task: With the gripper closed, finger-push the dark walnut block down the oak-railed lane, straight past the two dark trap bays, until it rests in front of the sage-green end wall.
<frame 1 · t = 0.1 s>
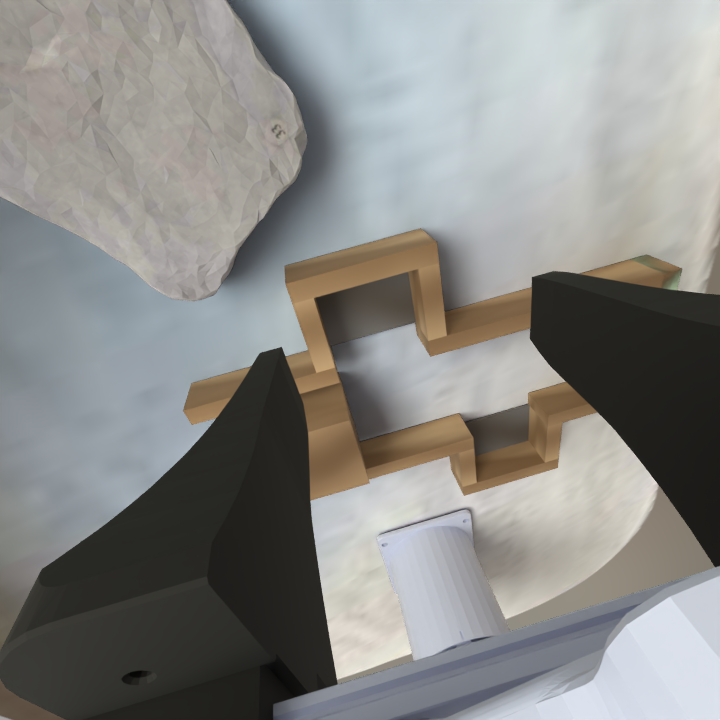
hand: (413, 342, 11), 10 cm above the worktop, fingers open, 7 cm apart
trap lane: (424, 381, 25), on the worktop
stone block: (148, 108, 16), on the worktop
walnut block: (301, 415, 25), resting in trap lane
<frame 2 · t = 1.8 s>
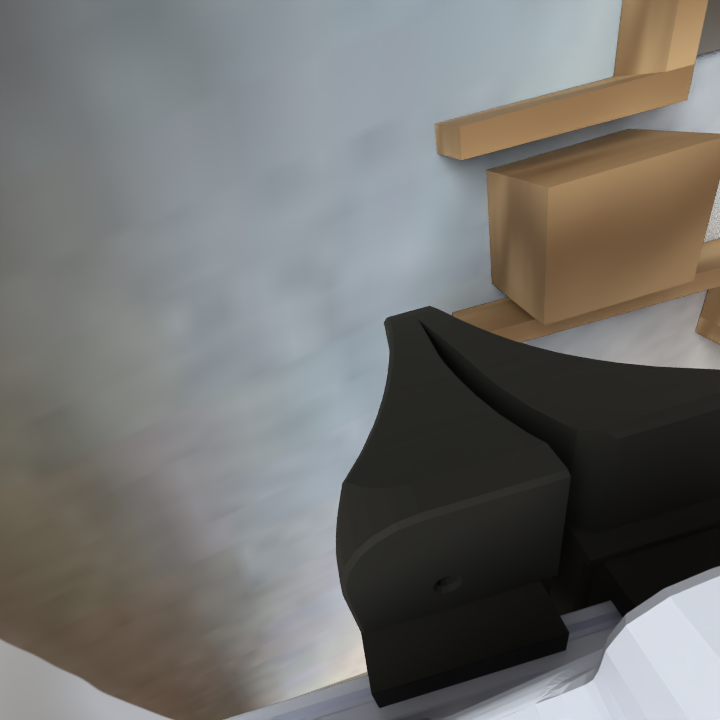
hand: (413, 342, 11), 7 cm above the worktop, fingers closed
walnut block: (553, 211, 17), resting in trap lane
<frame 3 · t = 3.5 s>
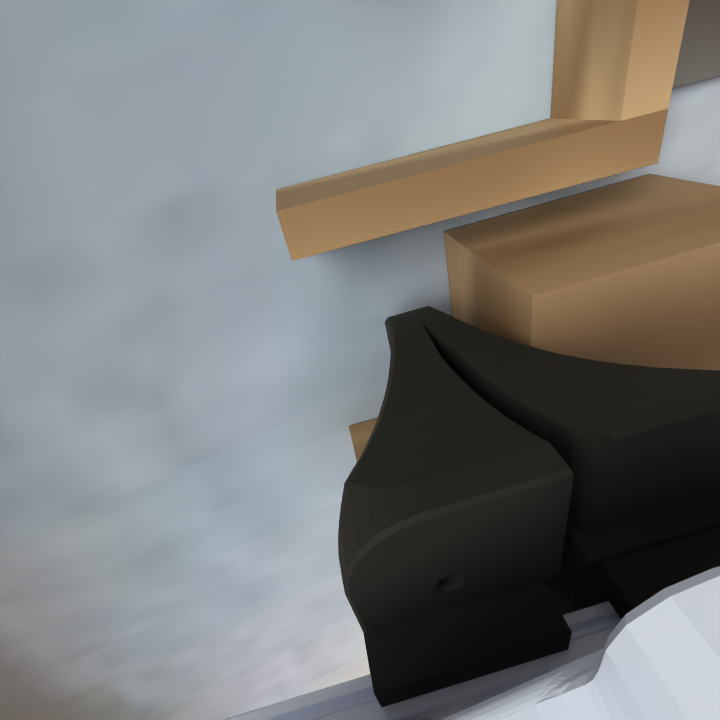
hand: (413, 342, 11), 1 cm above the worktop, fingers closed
walnut block: (543, 284, 12), resting in trap lane, touching gripper
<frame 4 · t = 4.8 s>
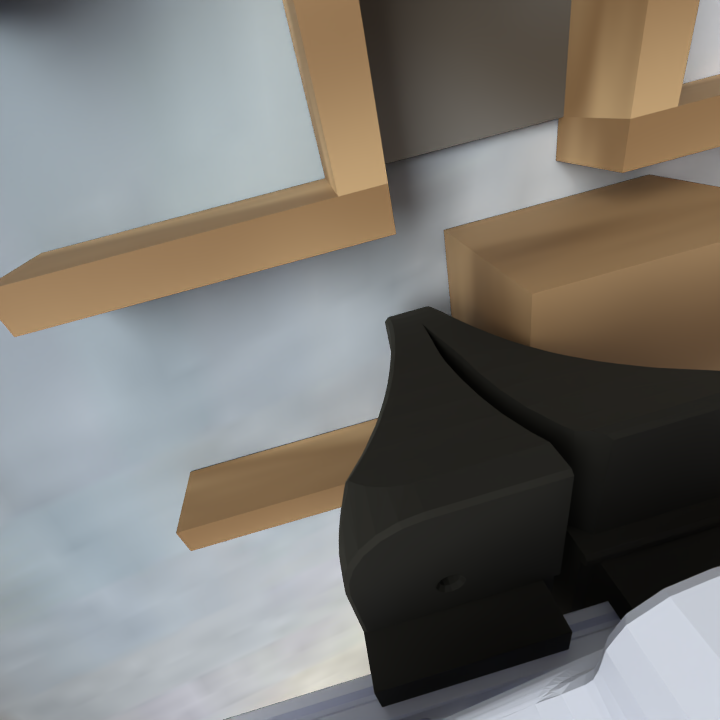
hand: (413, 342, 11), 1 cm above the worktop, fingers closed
trap lane: (548, 282, 12), on the worktop
walnut block: (542, 284, 12), resting in trap lane, touching gripper
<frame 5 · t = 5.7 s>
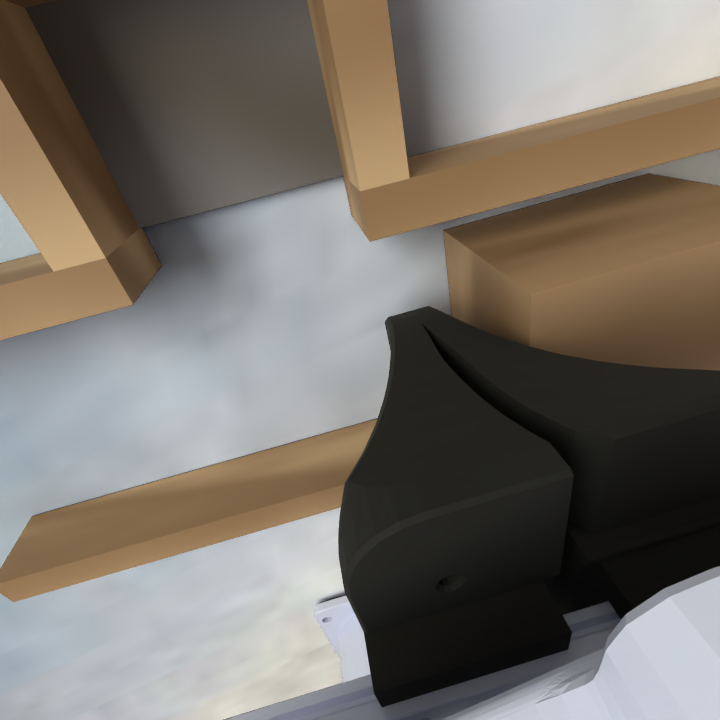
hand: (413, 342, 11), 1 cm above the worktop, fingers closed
trap lane: (376, 330, 12), on the worktop
walnut block: (542, 284, 12), resting in trap lane, touching gripper
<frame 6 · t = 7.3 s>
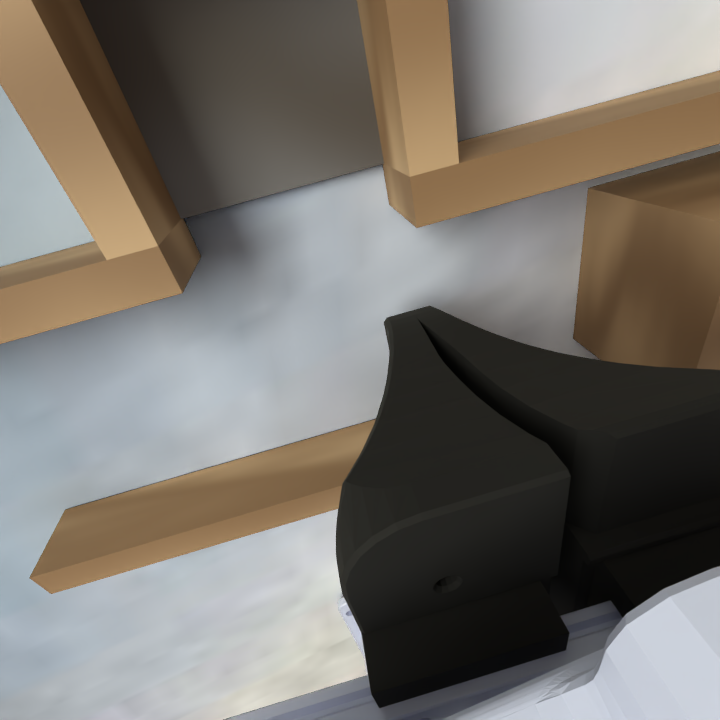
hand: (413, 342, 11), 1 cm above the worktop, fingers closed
trap lane: (409, 320, 12), on the worktop
walnut block: (666, 244, 13), resting in trap lane
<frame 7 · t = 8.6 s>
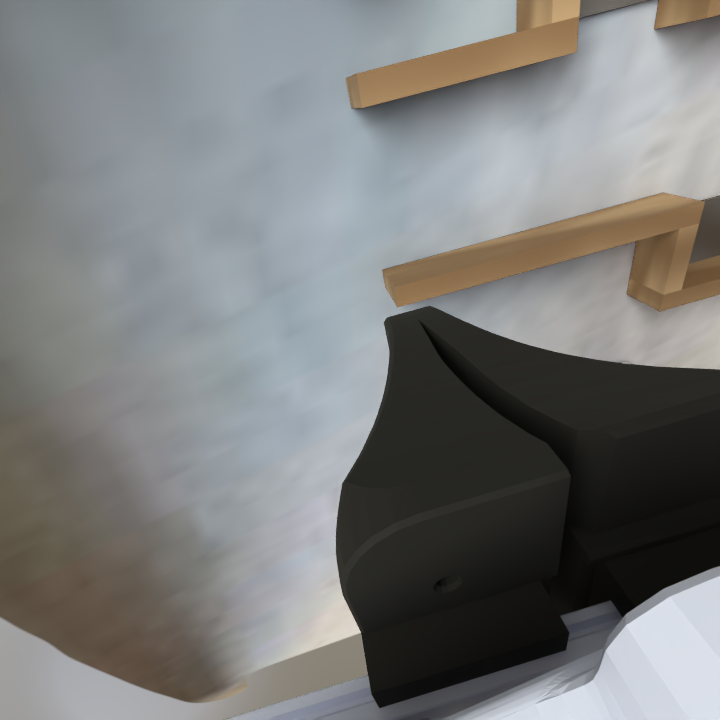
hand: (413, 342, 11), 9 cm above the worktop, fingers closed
trap lane: (638, 125, 18), on the worktop
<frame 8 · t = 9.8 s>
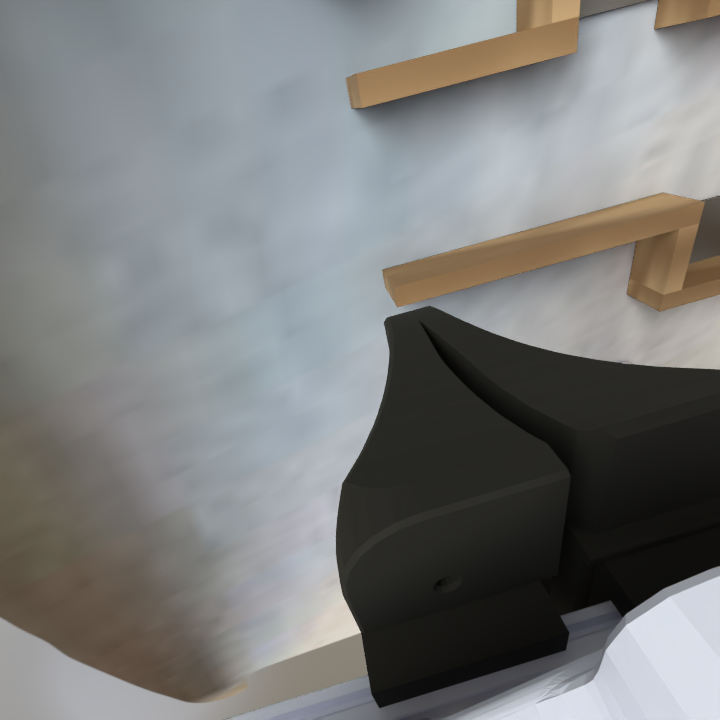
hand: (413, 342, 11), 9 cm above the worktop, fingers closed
trap lane: (638, 125, 18), on the worktop
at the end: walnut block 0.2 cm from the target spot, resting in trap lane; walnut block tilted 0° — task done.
